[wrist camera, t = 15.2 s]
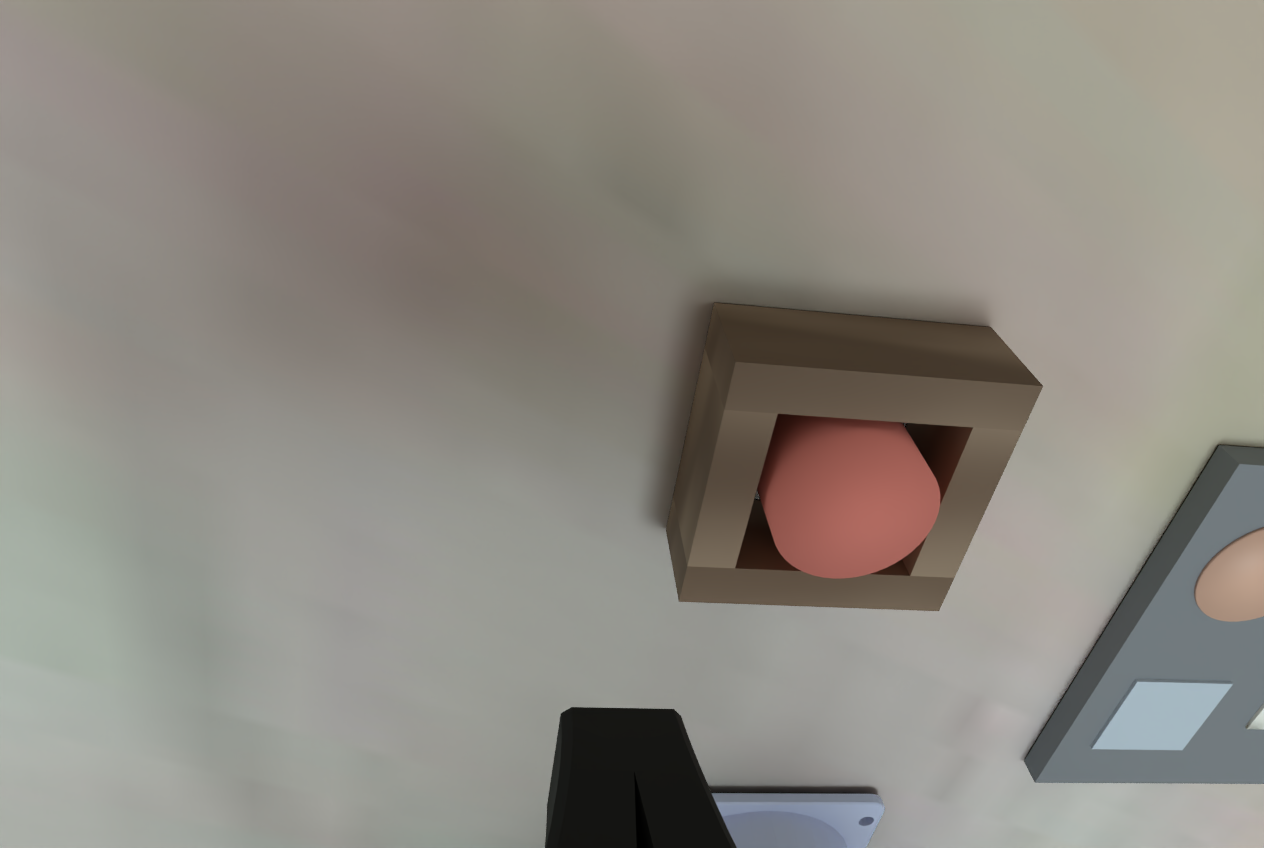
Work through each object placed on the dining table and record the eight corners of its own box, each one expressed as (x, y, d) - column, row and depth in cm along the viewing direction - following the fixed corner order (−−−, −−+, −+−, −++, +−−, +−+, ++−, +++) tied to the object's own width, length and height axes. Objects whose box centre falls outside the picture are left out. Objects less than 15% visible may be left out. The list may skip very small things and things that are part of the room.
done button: (868, 497, 23) (909, 581, 20) (730, 489, 22) (755, 575, 20) (913, 376, 21) (964, 453, 18) (763, 364, 20) (794, 442, 18)
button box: (903, 541, 24) (938, 611, 22) (665, 529, 23) (678, 601, 21) (991, 327, 20) (1042, 386, 18) (714, 302, 19) (735, 361, 17)
